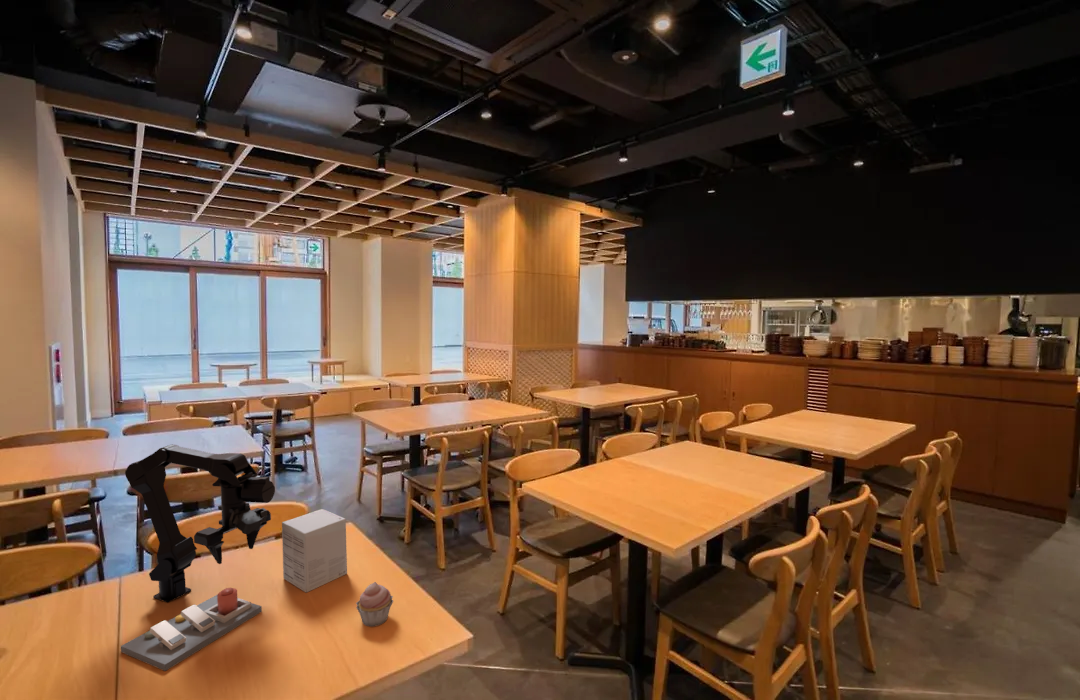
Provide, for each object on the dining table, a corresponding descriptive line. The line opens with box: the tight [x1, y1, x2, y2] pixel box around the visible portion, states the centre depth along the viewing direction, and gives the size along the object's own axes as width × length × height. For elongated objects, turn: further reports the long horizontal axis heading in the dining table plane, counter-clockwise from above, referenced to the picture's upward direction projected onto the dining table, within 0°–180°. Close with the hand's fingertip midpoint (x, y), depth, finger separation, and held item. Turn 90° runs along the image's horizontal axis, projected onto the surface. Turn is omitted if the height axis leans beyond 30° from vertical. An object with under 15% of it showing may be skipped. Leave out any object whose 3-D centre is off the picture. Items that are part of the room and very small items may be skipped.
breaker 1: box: [149, 619, 186, 650], centre depth 118 cm, size 8×4×1 cm, turn 68°
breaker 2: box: [180, 604, 215, 632], centre depth 124 cm, size 8×4×1 cm, turn 68°
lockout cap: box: [216, 587, 238, 616], centre depth 130 cm, size 4×4×6 cm
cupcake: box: [355, 581, 394, 628], centre depth 130 cm, size 9×9×10 cm
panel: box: [120, 594, 263, 672], centre depth 125 cm, size 16×24×3 cm, turn 158°
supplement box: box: [281, 508, 348, 593], centre depth 150 cm, size 13×13×18 cm
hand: (235, 556), depth 138 cm, fingers open, 9 cm apart
